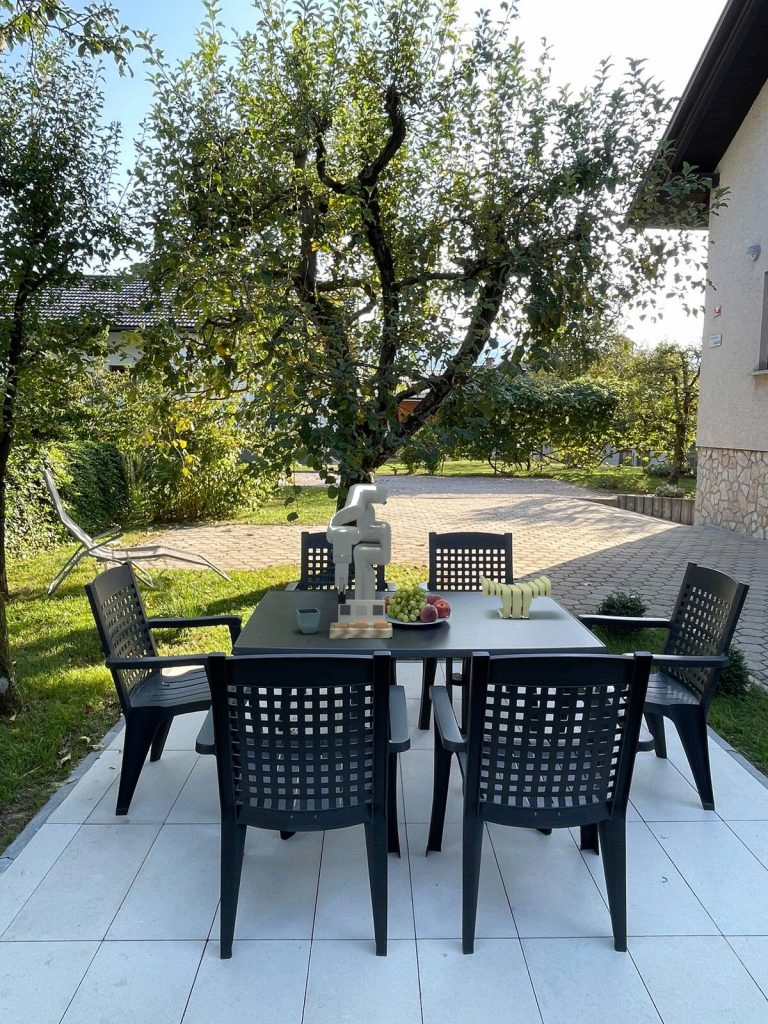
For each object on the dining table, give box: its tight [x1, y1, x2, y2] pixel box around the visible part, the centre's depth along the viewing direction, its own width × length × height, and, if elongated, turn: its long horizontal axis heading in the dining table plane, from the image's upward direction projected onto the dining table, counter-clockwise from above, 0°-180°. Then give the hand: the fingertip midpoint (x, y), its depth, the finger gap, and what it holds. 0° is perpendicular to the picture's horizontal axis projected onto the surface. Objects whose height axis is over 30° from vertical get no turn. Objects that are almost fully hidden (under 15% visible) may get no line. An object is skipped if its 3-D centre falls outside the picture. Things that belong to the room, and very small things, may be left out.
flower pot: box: [295, 607, 321, 635], centre depth 298 cm, size 9×9×9 cm
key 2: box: [375, 619, 388, 628], centre depth 295 cm, size 5×5×4 cm
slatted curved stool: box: [479, 574, 552, 618], centre depth 332 cm, size 30×16×18 cm, turn 90°
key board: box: [329, 622, 393, 639], centre depth 295 cm, size 25×12×4 cm, turn 91°
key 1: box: [335, 622, 348, 628], centre depth 295 cm, size 5×5×4 cm
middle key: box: [355, 620, 367, 628], centre depth 295 cm, size 5×5×4 cm
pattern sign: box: [337, 599, 386, 623], centre depth 310 cm, size 20×5×11 cm, turn 91°
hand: (341, 603), depth 294 cm, fingers closed
